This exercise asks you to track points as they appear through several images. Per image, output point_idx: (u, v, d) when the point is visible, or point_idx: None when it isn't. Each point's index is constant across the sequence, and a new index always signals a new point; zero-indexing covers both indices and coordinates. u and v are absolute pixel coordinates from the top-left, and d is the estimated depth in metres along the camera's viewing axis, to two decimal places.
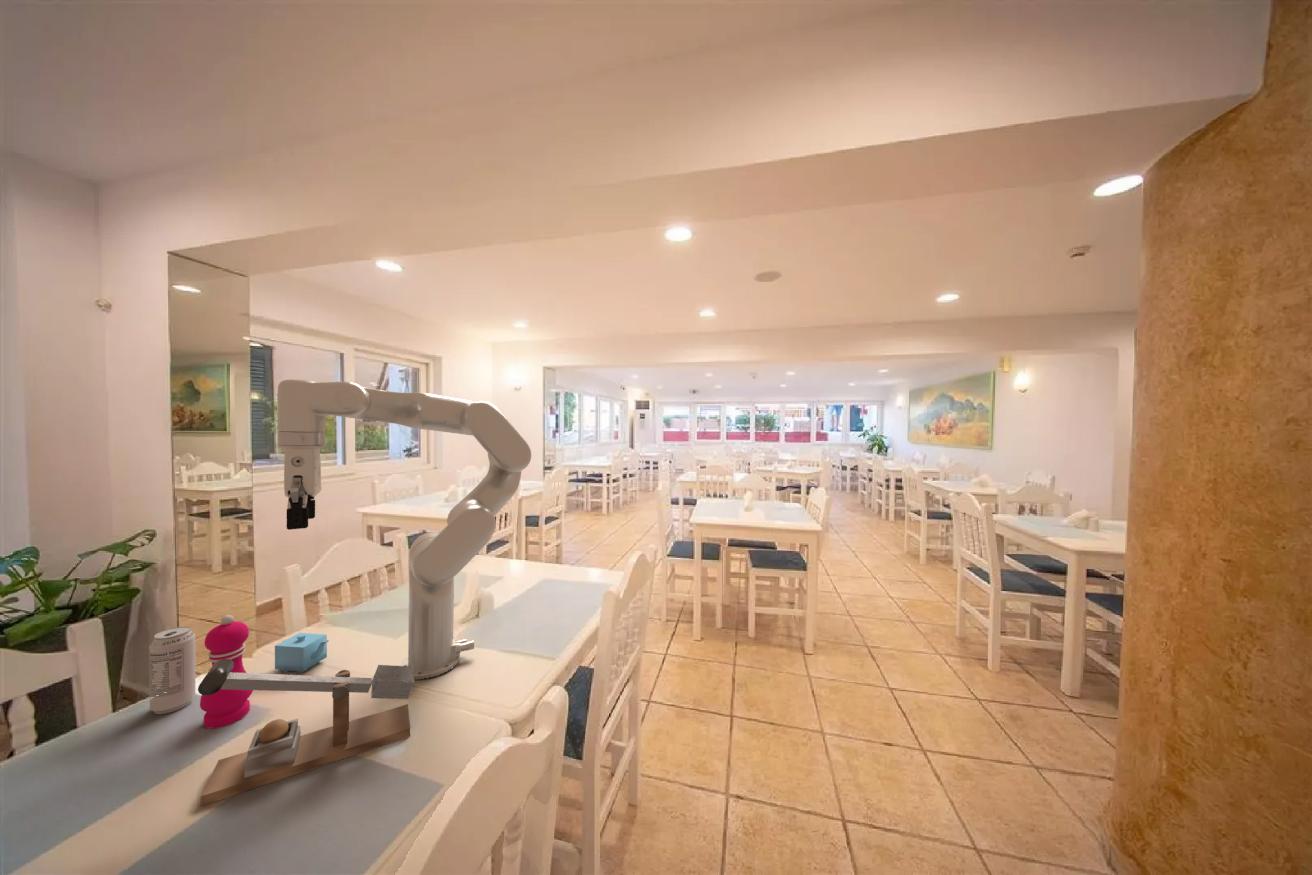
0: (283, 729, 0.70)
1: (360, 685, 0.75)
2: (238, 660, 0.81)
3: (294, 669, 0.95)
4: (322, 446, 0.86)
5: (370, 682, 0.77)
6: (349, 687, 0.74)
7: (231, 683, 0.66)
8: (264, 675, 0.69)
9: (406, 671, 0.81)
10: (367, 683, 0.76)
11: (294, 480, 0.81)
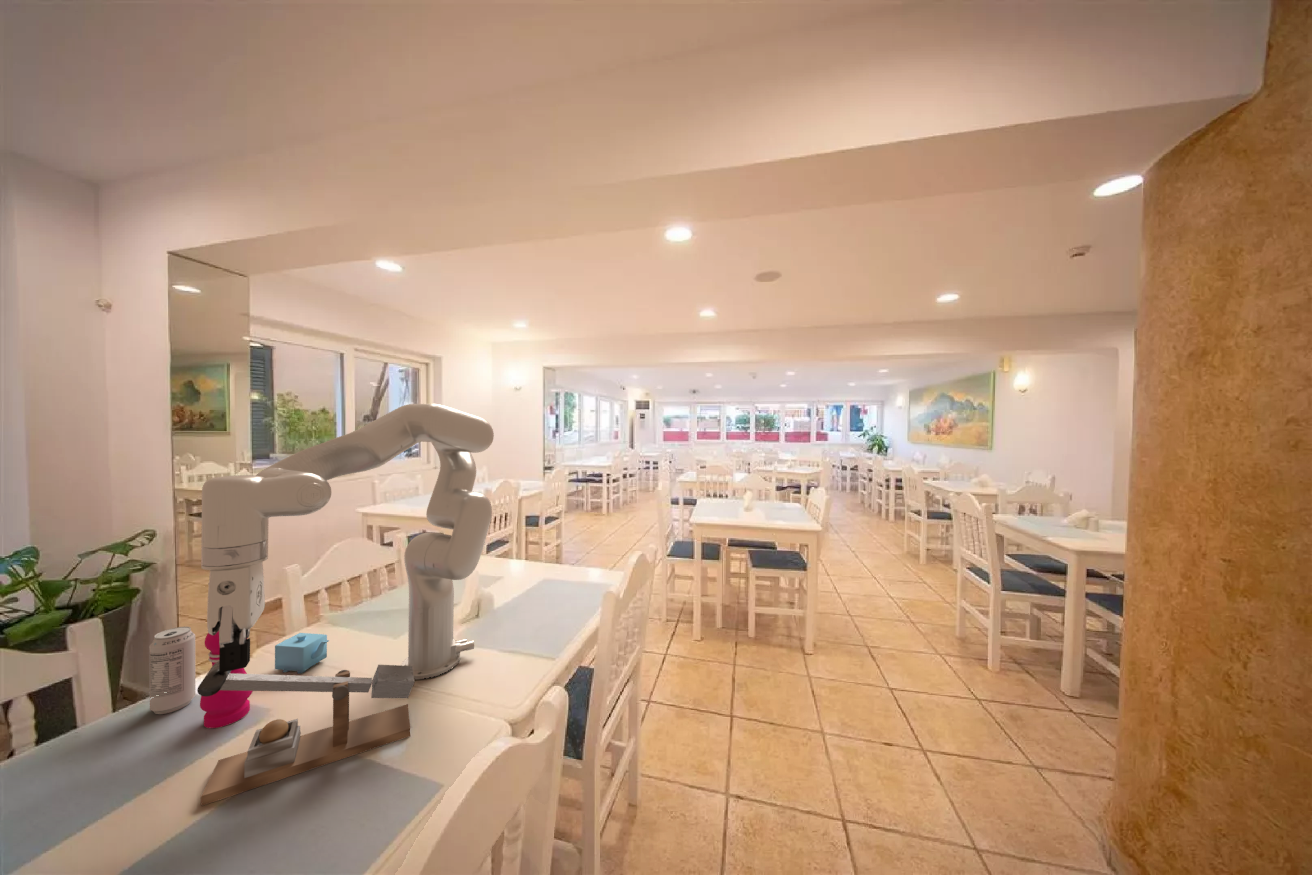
0: (283, 729, 0.70)
1: (360, 685, 0.75)
2: None
3: (294, 669, 0.95)
4: (262, 559, 0.67)
5: (370, 682, 0.77)
6: (349, 687, 0.74)
7: (230, 684, 0.66)
8: (264, 676, 0.69)
9: (406, 671, 0.81)
10: (367, 683, 0.76)
11: (223, 622, 0.63)
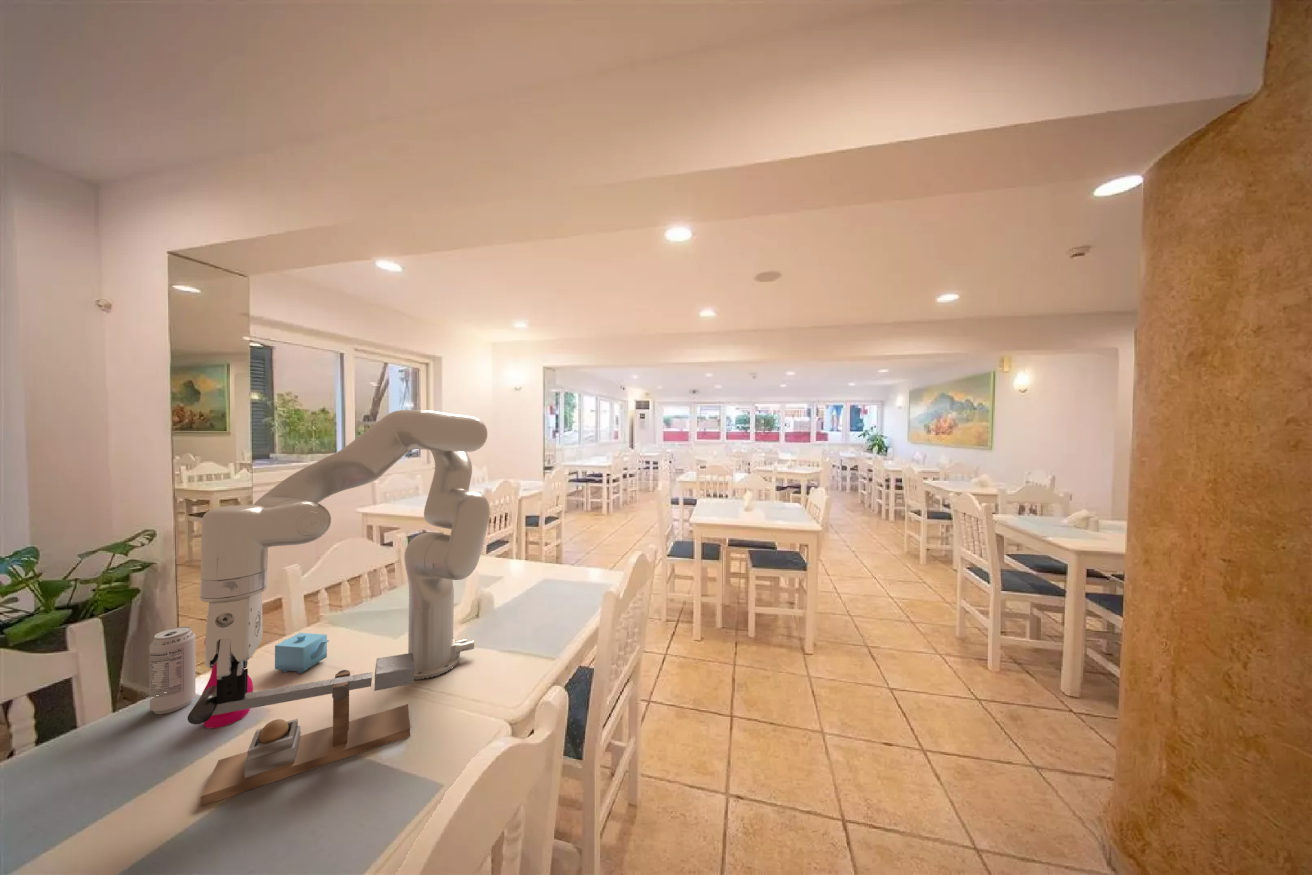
0: (283, 729, 0.70)
1: (360, 681, 0.75)
2: None
3: (294, 669, 0.95)
4: (261, 590, 0.67)
5: (370, 676, 0.77)
6: (349, 685, 0.75)
7: (223, 707, 0.66)
8: (257, 692, 0.69)
9: (406, 659, 0.81)
10: (367, 678, 0.76)
11: (221, 655, 0.63)
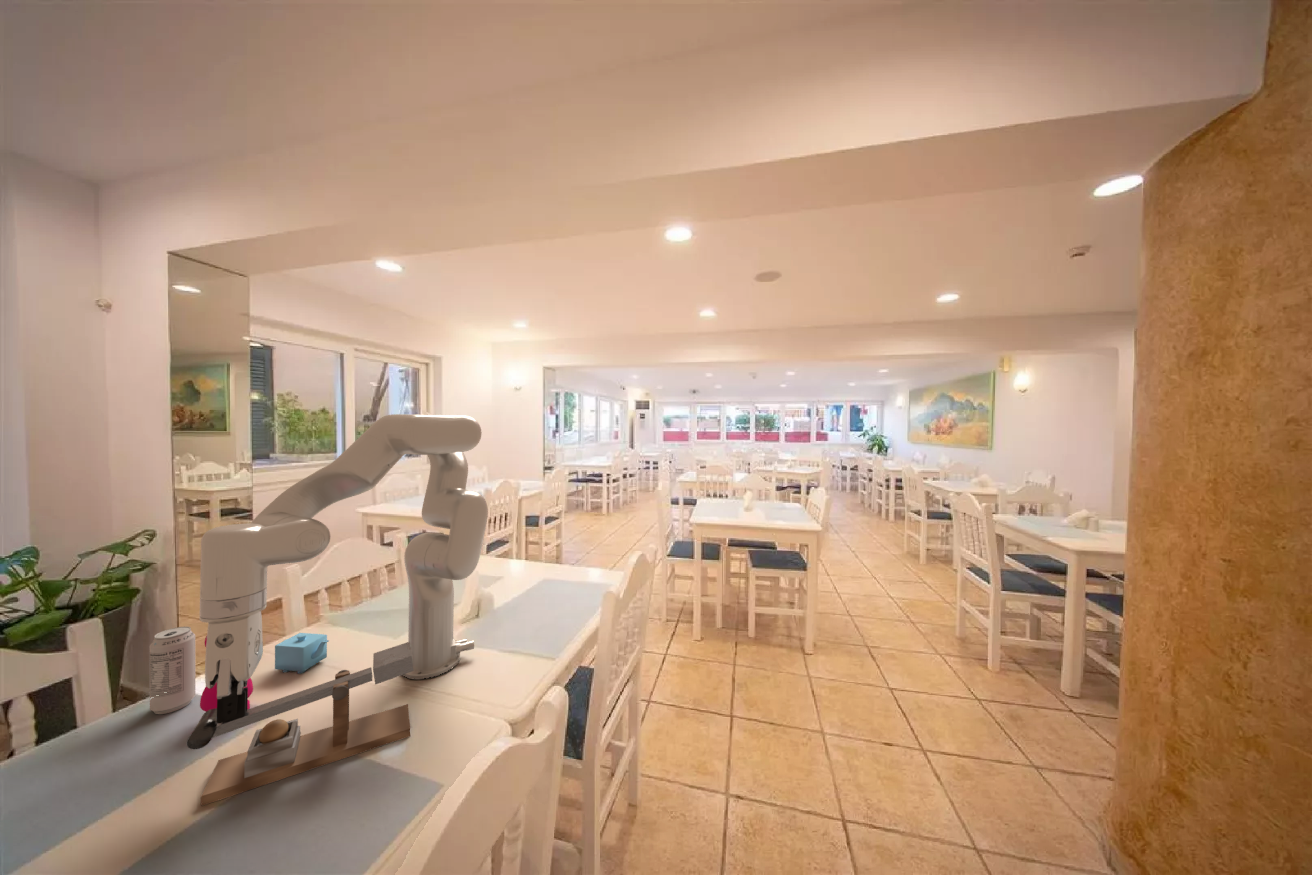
0: (283, 729, 0.70)
1: (359, 678, 0.75)
2: None
3: (294, 669, 0.95)
4: (260, 609, 0.67)
5: (369, 671, 0.76)
6: (349, 684, 0.75)
7: (224, 728, 0.66)
8: (256, 707, 0.69)
9: (403, 648, 0.80)
10: (366, 673, 0.76)
11: (221, 675, 0.63)
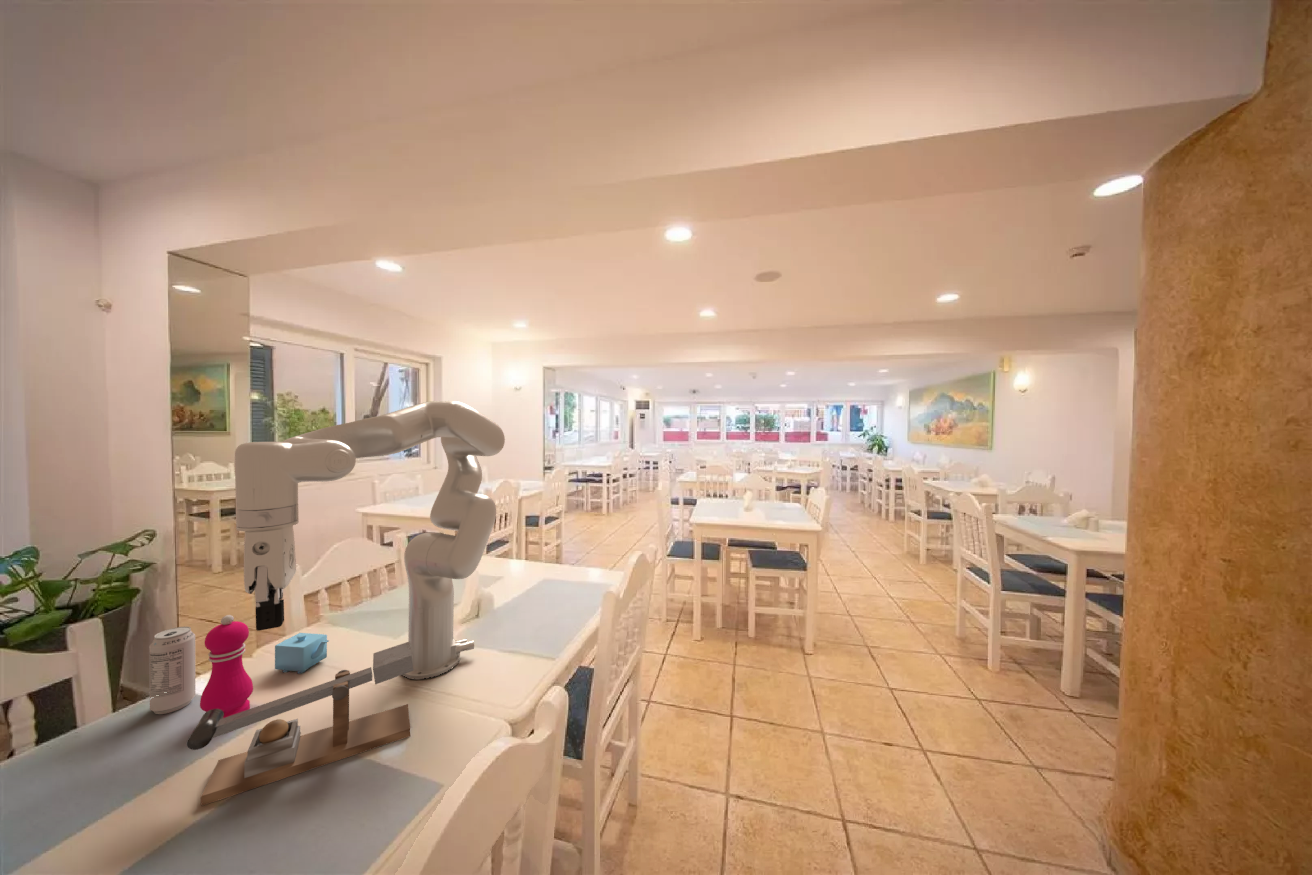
0: (283, 729, 0.70)
1: (359, 678, 0.75)
2: (238, 660, 0.81)
3: (294, 669, 0.95)
4: (293, 523, 0.69)
5: (369, 671, 0.76)
6: (349, 684, 0.75)
7: (224, 728, 0.66)
8: (256, 708, 0.69)
9: (403, 648, 0.80)
10: (366, 673, 0.76)
11: (259, 581, 0.65)
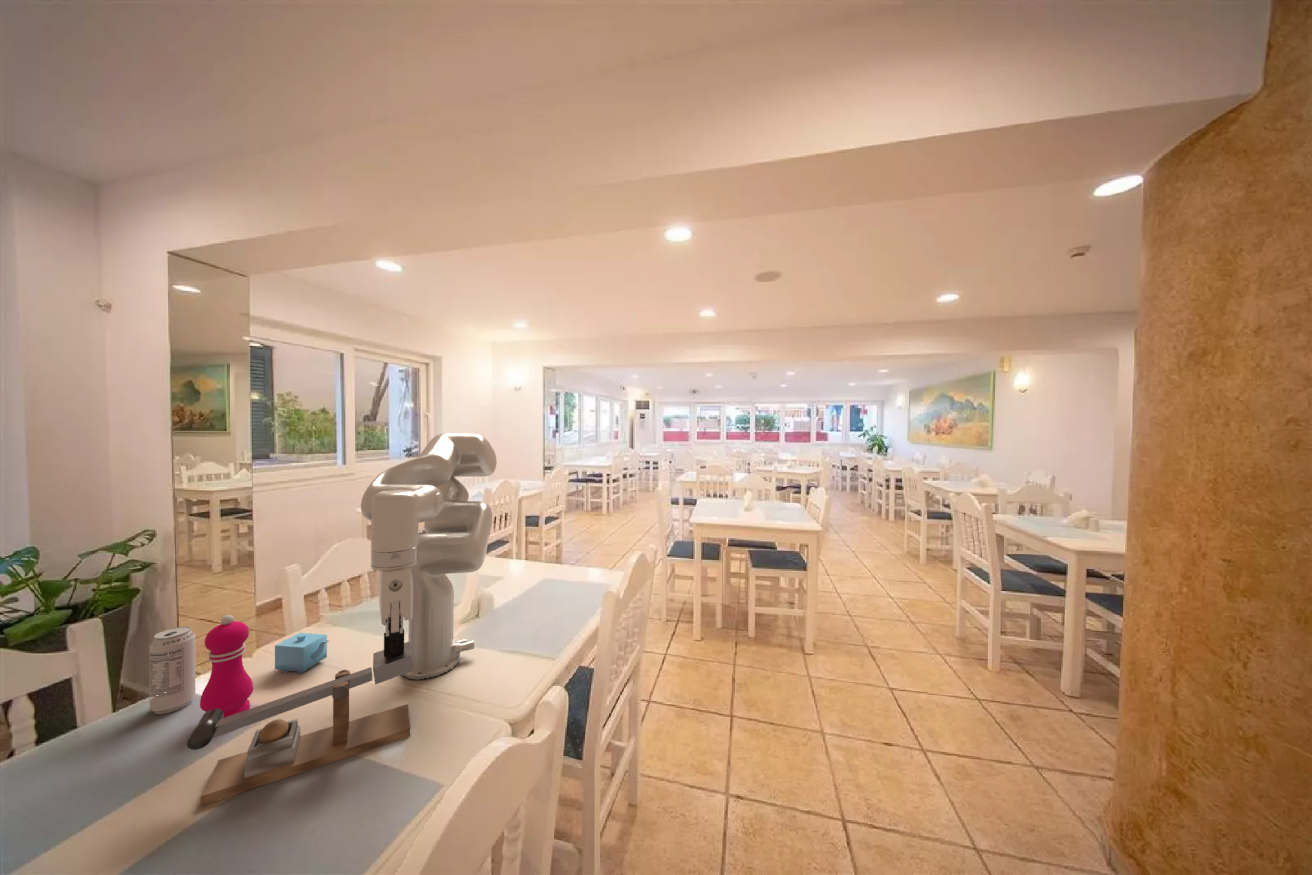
0: (283, 729, 0.70)
1: (359, 678, 0.75)
2: (238, 660, 0.81)
3: (294, 669, 0.95)
4: (416, 561, 0.79)
5: (369, 671, 0.76)
6: (349, 684, 0.75)
7: (224, 728, 0.66)
8: (256, 708, 0.69)
9: None
10: (366, 673, 0.76)
11: (392, 615, 0.74)
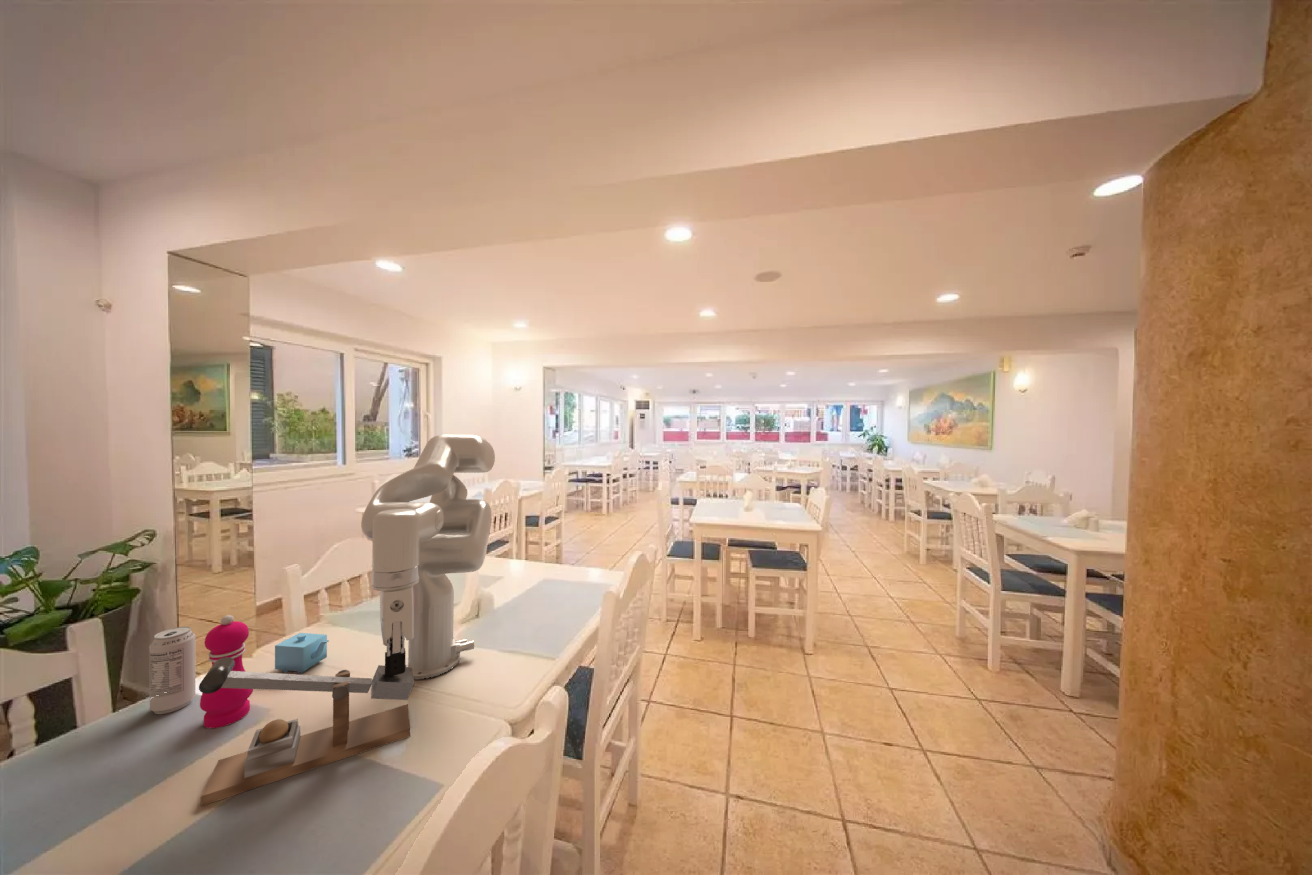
0: (283, 729, 0.70)
1: (360, 686, 0.75)
2: (238, 660, 0.81)
3: (294, 669, 0.95)
4: (417, 581, 0.79)
5: (370, 682, 0.77)
6: (349, 687, 0.74)
7: (231, 682, 0.66)
8: (265, 674, 0.69)
9: (406, 672, 0.81)
10: (367, 683, 0.76)
11: (394, 635, 0.74)
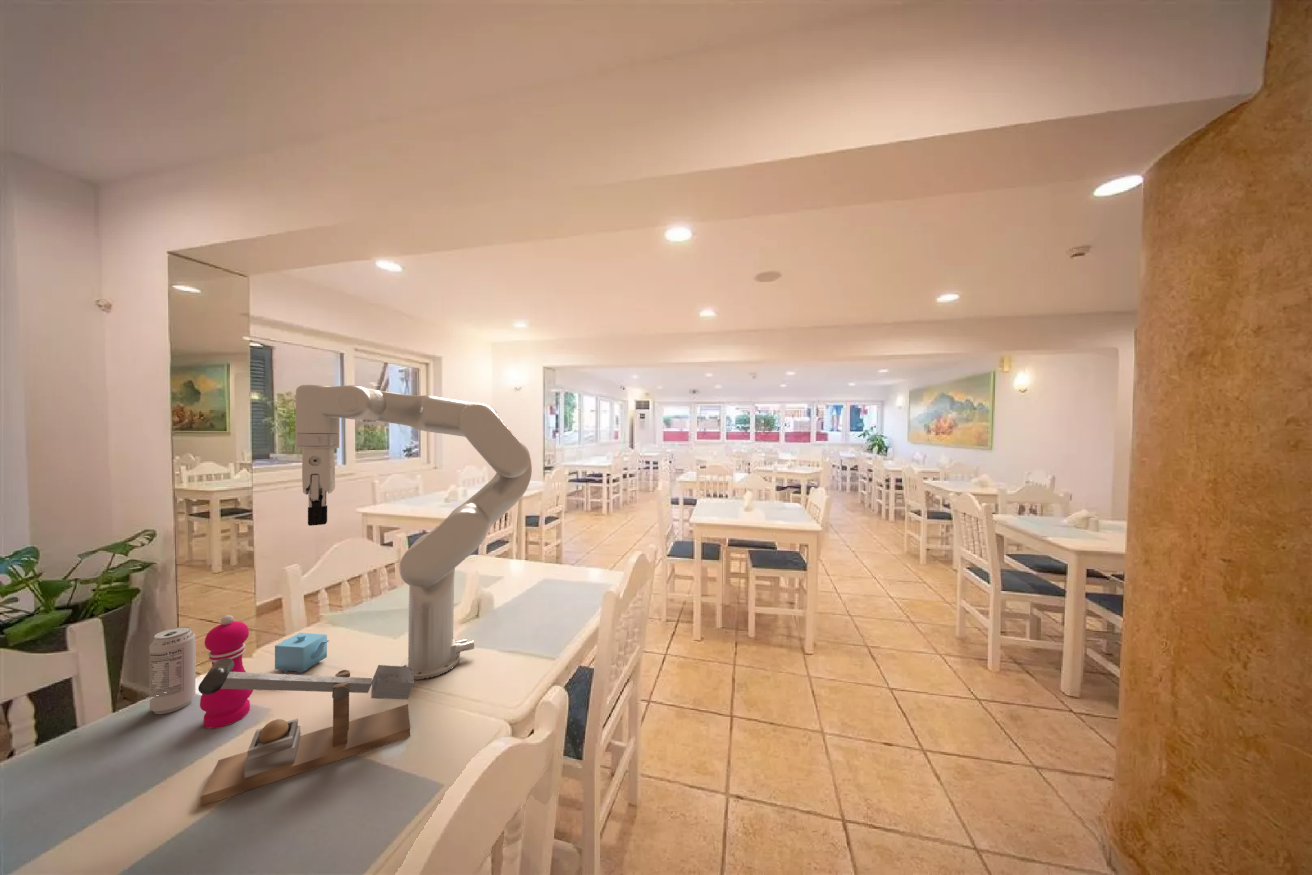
0: (283, 729, 0.70)
1: (360, 685, 0.75)
2: (238, 660, 0.81)
3: (294, 669, 0.95)
4: (336, 446, 0.93)
5: (370, 682, 0.77)
6: (349, 687, 0.74)
7: (231, 683, 0.66)
8: (264, 675, 0.69)
9: (406, 672, 0.81)
10: (367, 683, 0.76)
11: (312, 485, 0.88)
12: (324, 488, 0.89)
